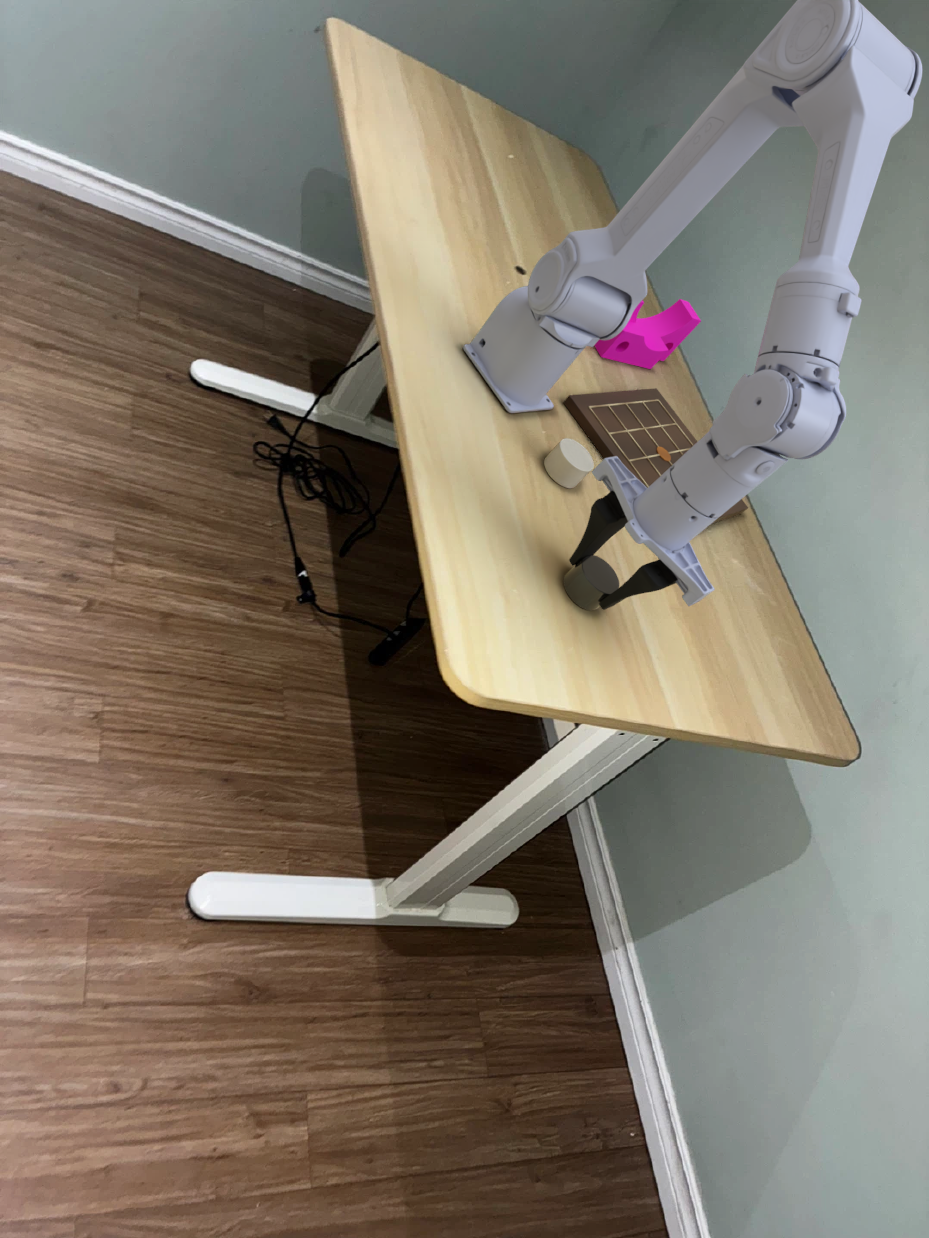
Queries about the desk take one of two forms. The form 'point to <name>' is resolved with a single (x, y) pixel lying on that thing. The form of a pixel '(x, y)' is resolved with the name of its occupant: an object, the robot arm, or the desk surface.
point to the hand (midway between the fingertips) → (591, 582)
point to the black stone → (590, 582)
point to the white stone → (568, 463)
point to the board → (637, 432)
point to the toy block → (650, 336)
